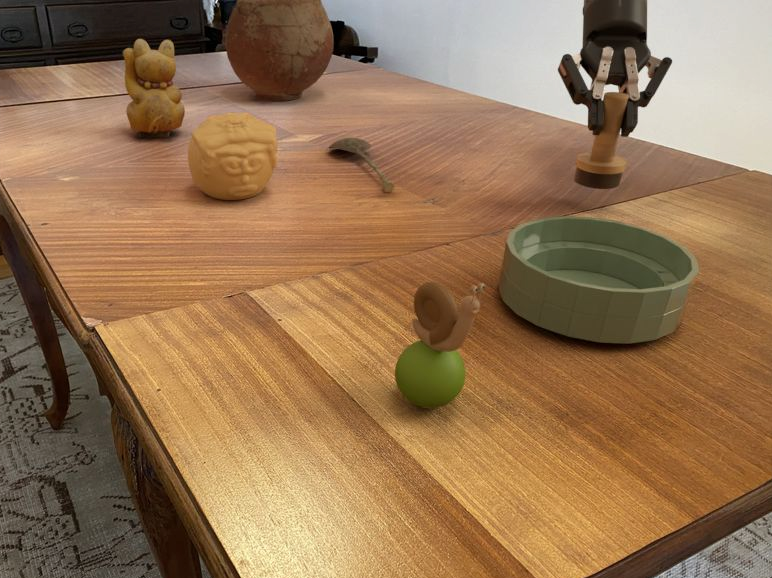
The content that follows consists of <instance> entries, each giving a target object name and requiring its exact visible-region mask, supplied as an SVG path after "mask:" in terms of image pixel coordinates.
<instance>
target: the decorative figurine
mask: <svg viewBox="0 0 772 578" xmlns="http://www.w3.org/2000/svg"><path fill="white" fill-rule="evenodd" d="M122 57H123V58H124V64H125V66H124V86H125V88H126V89H125V90H126V91H127V94H128V96H129V97H130V99H131V100H132V101H130V102H128V104H127V106H126V111H125V113H126V117H127V119H128V122H129V126H130V129H132V131H135V132H138V136H139V137H138V138H139V139H145V138H146V139H147V138H153V139H154V138H155V139H156V138H169V137H170V134H172V131H174V130H177V129H179V128H181V127H182V125H183V122H184V121H183V120H184V118H185V113H186V111H185V110H186V109H185V105H184V104H183V102H182V101H181V100H182V98H183V94H182V91H181V90H180V89H179V88H178V87H177V86H176V85H174V81H173V79H174V77H175V75H176V71H177V65H176V64H177V63H176V60H175V45H174V43H173V41H172V40H170V39H165V40H163V41H161V43H160V45H159V47H158V49H151V48H150V45H149V44H148V42H147V41H146V40H145V39H143V38H138V39H136V40H135V42H134V43H133V47H127V48H125V49H123V50H122Z"/></svg>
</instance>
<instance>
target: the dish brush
mask: <svg viewBox="0 0 772 578" xmlns="http://www.w3.org/2000/svg"><path fill="white" fill-rule="evenodd" d="M628 97H629V95H627V94H625V93H619V91H608V92H604V93H603V97H602V100H604V124H603V129H602V131H601V133H600V134H599V136H598V135H594V139H593V143H592V148H591V152H583V153H580V154H578V155H577V156H576V160H575V166H576V168H575V172H574V177H573V181H574V182H575V183H576V184H577V185H580V186H582V187H586V188H591V189H595V190H596V189H597V190H610V189H615V188H618V187H620V183H621V179H622V176H623V172H625V170H626V167H627V160H626V159H625V158H623V157H621V156H618V155H616V151H617V147H618V144H619V143H618V142H619V138H620V135H621V126H622V122H623V118H624V114H625V109H626V105H627V101H628Z"/></svg>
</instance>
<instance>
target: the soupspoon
mask: <svg viewBox="0 0 772 578" xmlns="http://www.w3.org/2000/svg"><path fill="white" fill-rule="evenodd" d="M370 148H372V144H371V143H370V142H368V141H366V140H364V139H362V138H357V137H345V138H341V139H338V140H336V141H334V142H333V143H331V144H330V145H329V146H328V149H330V150H331V149H338V150H342V151H346V152H349V153H352V154H356V155H357V156H358V157H360V158H361V159H363V160H364V162H366V163H367V164H368V165H369V166H370V168H372V170H373V171H374V172H375V173H376V174H377V175H378V176H379V180H380V181H381V184H382V187H381V190H382V192H384V193H387V194H388V193H392V192H393V190H394V189H395V188H396V185H395V183H394V182H392V181H390V180H389V179H388V177H387V175H386V174H384V173H383V172H382V170H381V169H380V168H379V166H377V165H376V163H374V161H372V160H371V158H370V157H369V156H368V155H366V154H365V152H367V151H368V150H370Z"/></svg>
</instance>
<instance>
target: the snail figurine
mask: <svg viewBox="0 0 772 578" xmlns="http://www.w3.org/2000/svg"><path fill="white" fill-rule="evenodd" d="M484 290H486V284H485V283H483V282H480V283H478V284H477V285H475V284H473V285H472V286H470V288H469V291H470V292H471V293H472V295H466V296H464V297H463V298H462V299H461V301H460V305H459V306H458V303H457V300H456V299H455V296H454V295H453V293H452V292H451V291H450V290H449V289H448V288H447V286H445V285H444V284H442V283H440V282H437V281H426V282H424V283H422V284H421V285H420V286H419V287H418V288H417V290H416V291H415V293H414V297H413V309H414V313H415V316H416V318H412V320H411V323H412V328H413V330H414V332H415V334H416V336H417V337H418V339H419V340H417V341H415V342H413V343H411V344H409V345H408V346H407V347H406V348H404V349H403V351H402V352H401V353H400V355H399V356H398V358H397V361H396V362H395V363H396V364H395V367H394V368H395V369H394V379H395V383H396V386H397V389H398V390H399V393H400V394H401V395H402V396H403V398H405V400H406V401H408V402H409V403H411V404H412V405H414V406H416V407H419V408H422V409H437V408H442V407H444V406H446V405H449V404H451V403H452V402H454V400H455V399H456V398H457V397H458V396H459V394H460V393H461V392H462V389H463V388H464V385H465V380H466V367H465V363H464V360H463V358H462V356H461V355H460V353H459V352H458V351H457V350H458V349H460V348H461V347H462V346H463V345H464V343H465V342H466V340H467V339H468V337H469V335H470V333H471V331H472V328H473V325H474V323H475V318H476V316H477V314H478V313H479V312H480V308H481V302H480V300H481V296H482V291H484ZM478 291H479V297H476V296H475V294H477V293H478ZM459 309H460V310H459Z"/></svg>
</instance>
